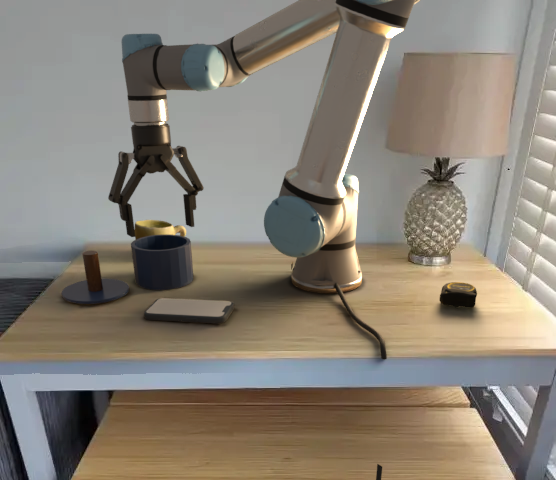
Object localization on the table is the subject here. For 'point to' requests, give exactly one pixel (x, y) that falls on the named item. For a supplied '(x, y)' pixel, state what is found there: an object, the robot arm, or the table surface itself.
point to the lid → (94, 284)
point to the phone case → (189, 310)
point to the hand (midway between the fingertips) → (161, 230)
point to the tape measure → (458, 295)
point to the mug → (157, 228)
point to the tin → (162, 261)
